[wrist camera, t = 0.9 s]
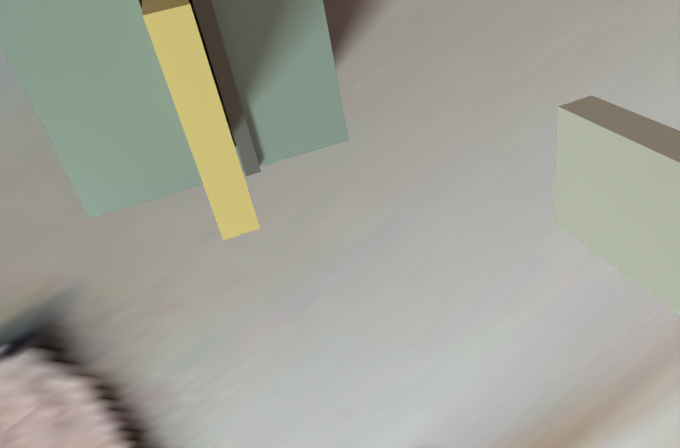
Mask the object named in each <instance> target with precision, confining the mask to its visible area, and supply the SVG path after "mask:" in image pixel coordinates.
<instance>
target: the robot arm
mask: <svg viewBox="0 0 680 448" xmlns="http://www.w3.org/2000/svg"><path fill="white" fill-rule="evenodd" d="M555 223H557V224H558V225H559V226H561V227H562V228H563V229H565V230H566V231H567V232H569V233H570V234H571V235H573V236H574V237H575V238H577V239H578V240H579V241H581V242H582V243H583V244H585V245H586V246H587V247H589V248H590V249H592V250H593V251H594V252H596V253H597V254H598V255H600V256H601V257H602V258H604V259H605V260H606V261H608V262H609V263H610V264H612V265H613V266H614V267H616V268H617V269H618V270H620V271H621V272H622V273H624V274H625V275H626V276H628V277H629V278H631V279H632V280H633V281H635V282H636V283H637V284H639V285H640V286H641V287H643V288H644V289H645V290H647V291H648V292H649V293H651V294H652V295H653V296H655V297H656V298H657V299H659V300H660V301H661V302H663V303H664V304H665V305H667V306H668V307H670V308H671V309H672V310H674V311H675V312H676V313H678V314H679V315H680V131H678V130H676V129H673V128H671V127H668V126H666V125H663V124H661V123H659V122H656V121H654V120H651V119H649V118H646V117H644V116H641V115H639V114H636V113H634V112H631V111H629V110H626V109H624V108H621V107H619V106H616V105H614V104H611V103H609V102H607V101H604V100H602V99H599V98H597V97H594V96H589V97H586V98H583V99H580V100H577V101H574V102H571V103H568V104H564V105H561V106H558V129H557V162H556V194H555Z"/></svg>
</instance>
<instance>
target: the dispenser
mask: <svg viewBox="0 0 680 448" xmlns="http://www.w3.org/2000/svg"><path fill="white" fill-rule="evenodd" d="M188 1H189V3H190V5H191V8H192V11H193V14H194V18H195V21H196V24H197V27H198V31H199V34H200V37H201V40H202V43H203V47H204V50H205V53H206V56H207V59H208V63H209V66H210V69H211V72H212V75H213V79H214V82H215V85H216V88H217V92H218V95H219V98H220V101H221V104H222V108H223V111H224V114H225V117H226V120H227V124H228V127H229V130H230V133H231V137H232V140H233V143H234V146H235V149H236V153H237V156H238V159H239V162H240V165H241V169H242V172H245V174H246V176H248V175H251V174H255V173H258V172H261V171H260V167H261V166H264V165H268V164H271V163H274V162H278V161H281V160H284V159H288V158H291V157H294V156H297V155H301V154H304V153H307V152H311V151H314V150H317V149H321V148H324V147H327V146H330V145H334V144H337V143H340V142H344V141H347V140H349V139H348V133H347V128H346V123H345V117H344V112H343V106H342V101H341V95H340V90H339V85H338V79H337V74H336V68H335V63H334V58H333V52H332V47H331V41H330V36H329V30H328V25H327V20H326V14H325V9H324V3H323V0H188ZM0 44H1V46H2V48H3V50H4V52H5V54H6V56H7V58H8V60H9V62H10V64H11V65H12V67H13V69H14V71H15V73H16V75H17V77H18V79H19V81H20V83H21V85H22V87H23V89H24V91H25V93H26V95H27V97H28V99H29V101H30V103H31V105H32V107H33V109H34V110H35V112H36V114H37V116H38V118H39V120H40V122H41V124H42V126H43V128H44V130H45V132H46V134H47V136H48V138H49V140H50V142H51V144H52V146H53V148H54V150H55V152H56V154H57V155H58V157H59V159H60V161H61V163H62V165H63V167H64V169H65V171H66V173H67V175H68V177H69V179H70V181H71V183H72V185H73V187H74V189H75V191H76V193H77V195H78V197H79V199H80V200H81V202H82V204H83V206H84V208H85V210H86V212H87V214H88V216H89V218H93V217H96V216H100V215H103V214H106V213H110V212H113V211H116V210H120V209H123V208H126V207H129V206H133V205H136V204H139V203H143V202H146V201H149V200H152V199H156V198H159V197H162V196H166V195H169V194H172V193H176V192H179V191H182V190H185V189H189V188H192V187H195V186H199V185H202V184H203V182H202V179H201V177H200V174H199V171H198V168H197V165H196V163H195V160H194V157H193V154H192V152H191V149H190V146H189V143H188V141H187V138H186V135H185V132H184V129H183V127H182V124H181V121H180V118H179V116H178V113H177V110H176V107H175V104H174V102H173V99H172V96H171V93H170V91H169V88H168V85H167V82H166V80H165V77H164V74H163V71H162V68H161V66H160V63H159V60H158V57H157V55H156V52H155V49H154V46H153V44H152V41H151V38H150V35H149V32H148V30H147V27H146V24H145V21H144V19H143V16H142V0H0Z"/></svg>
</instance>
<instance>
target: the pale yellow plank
mask: <svg viewBox="0 0 680 448" xmlns="http://www.w3.org/2000/svg"><path fill="white" fill-rule="evenodd" d="M142 16H143V19H144V21H145V24H146V27H147V30H148V32H149V35H150V38H151V41H152V44H153V46H154V49H155V52H156V55H157V57H158V60H159V63H160V66H161V68H162V71H163V74H164V77H165V80H166V82H167V85H168V88H169V91H170V93H171V96H172V99H173V102H174V104H175V107H176V110H177V113H178V116H179V118H180V121H181V124H182V127H183V129H184V132H185V135H186V138H187V141H188V143H189V146H190V149H191V152H192V154H193V157H194V160H195V163H196V165H197V168H198V171H199V174H200V177H201V179H202V182H203V185H204V188H205V190H206V193H207V196H208V199H209V202H210V204H211V207H212V210H213V213H214V215H215V218H216V221H217V224H218V226H219V229H220V232H221V235H222V238H223V240H226V239H229V238H232V237H235V236H238V235H241V234H244V233H247V232H251V231H254V230H257V229H260V226H259V223H258V220H257V217H256V214H255V210H254V207H253V204H252V201H251V198H250V194H249V191H248V188H247V185H246V181H245V178H244V175H243V172H242V169H241V165H240V162H239V159H238V156H237V153H236V149H235V146H234V143H233V140H232V137H231V133H230V130H229V127H228V124H227V120H226V117H225V114H224V111H223V108H222V104H221V101H220V98H219V95H218V92H217V88H216V85H215V82H214V79H213V75H212V72H211V69H210V66H209V63H208V59H207V56H206V53H205V50H204V47H203V43H202V40H201V37H200V34H199V31H198V27H197V24H196V21H195V18H194V14H193V11H192V8H191V5H190V3H189V1H188V0H142Z"/></svg>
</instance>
